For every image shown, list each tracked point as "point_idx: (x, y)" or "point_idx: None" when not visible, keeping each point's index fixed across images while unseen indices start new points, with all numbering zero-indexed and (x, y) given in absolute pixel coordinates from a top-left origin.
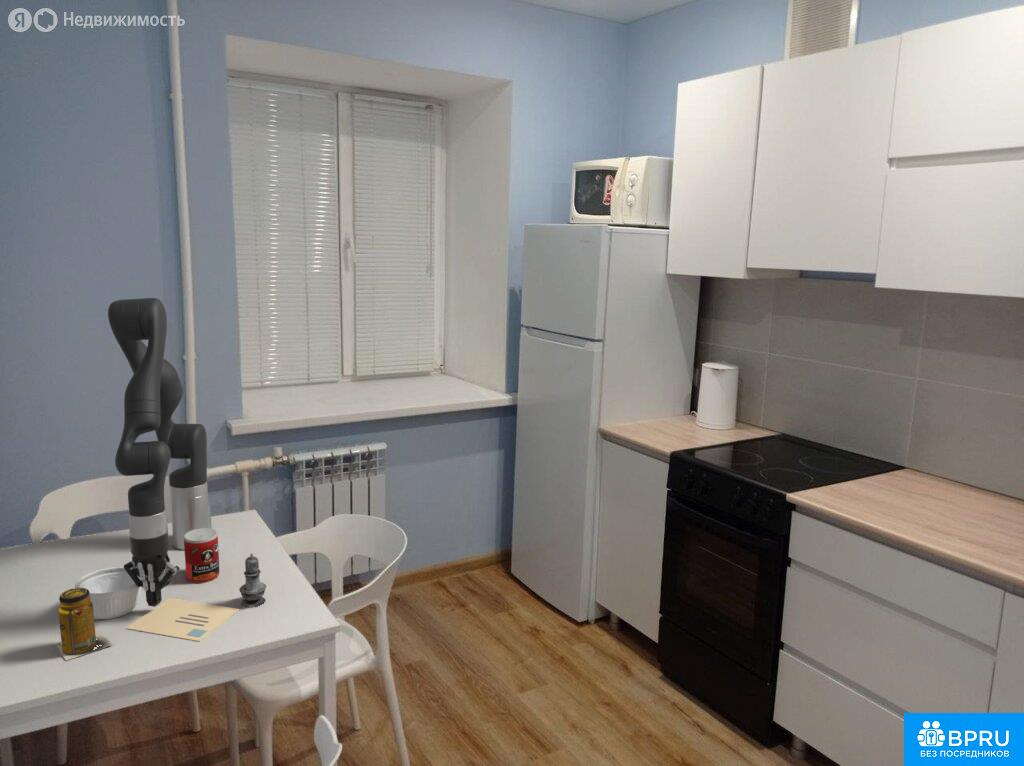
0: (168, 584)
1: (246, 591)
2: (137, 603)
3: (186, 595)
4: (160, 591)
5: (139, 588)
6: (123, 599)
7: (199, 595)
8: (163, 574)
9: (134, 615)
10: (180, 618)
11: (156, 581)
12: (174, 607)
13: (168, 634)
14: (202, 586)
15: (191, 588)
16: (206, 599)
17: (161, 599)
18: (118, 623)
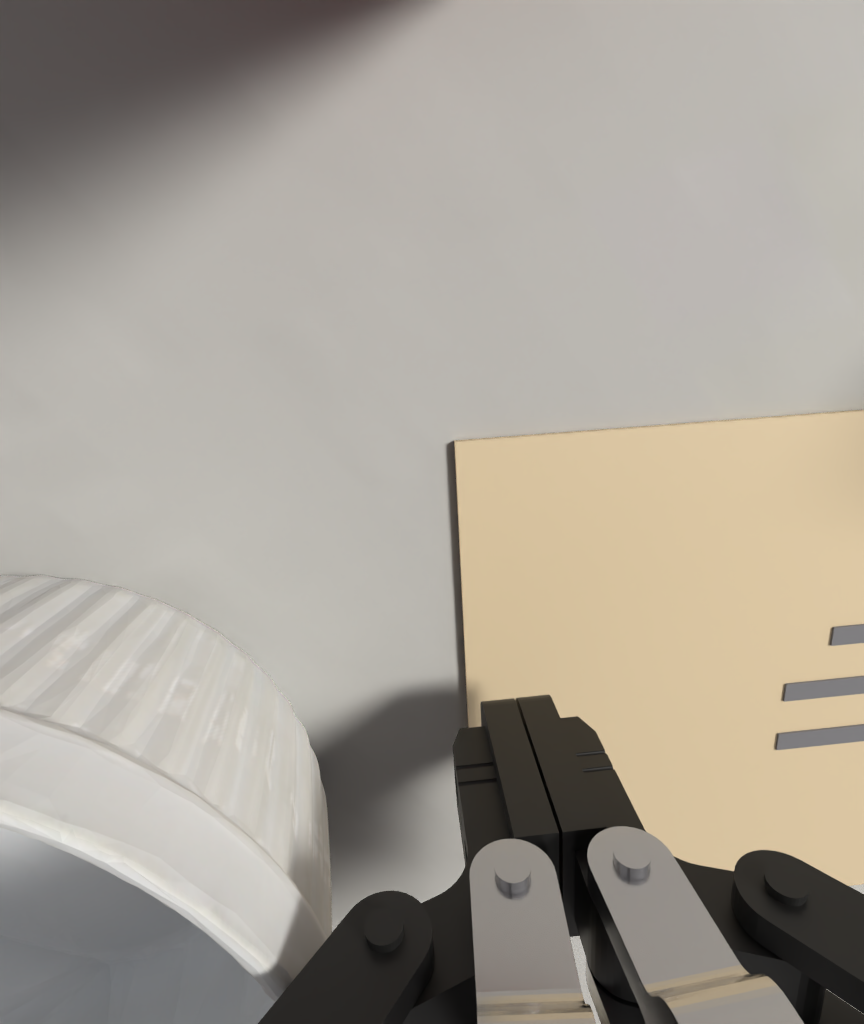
0: (804, 867)
1: None
2: (297, 723)
3: (572, 311)
4: (635, 821)
5: (288, 834)
6: None
7: (713, 256)
8: (797, 1019)
9: (381, 784)
10: (795, 702)
11: (618, 945)
12: (628, 579)
13: None
14: (615, 9)
15: (513, 122)
16: (836, 311)
17: (595, 734)
18: (364, 898)
